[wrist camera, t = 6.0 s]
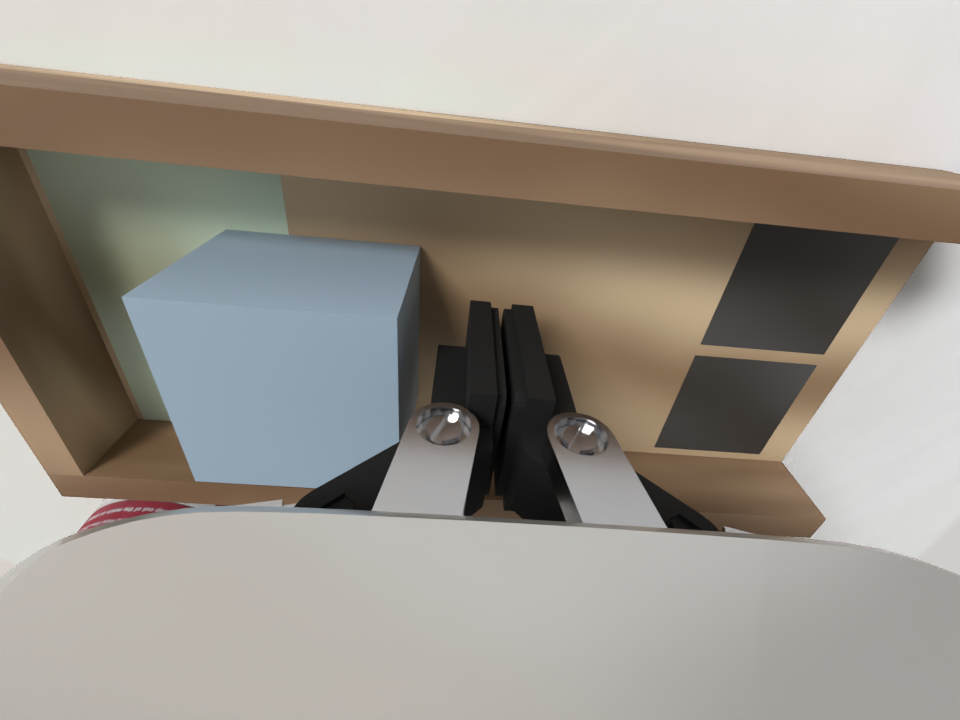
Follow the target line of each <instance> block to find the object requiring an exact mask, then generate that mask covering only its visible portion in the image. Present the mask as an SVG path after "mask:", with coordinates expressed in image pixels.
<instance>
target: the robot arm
mask: <svg viewBox="0 0 960 720" xmlns="http://www.w3.org/2000/svg"><path fill="white" fill-rule="evenodd" d="M493 471H494V489H495V496H503V509H504V511H514V512H515V513H516V514H518V515H519V516H520V517H521V518H522V519H511V518H494V517H477V516H472V515H473V514H474V513H476V512H477V511H478V510H479V509H481V508H482V507H483V503H484V497H485V495H489V492H490V487H491V481H492V476H493ZM0 720H960V575H958V574H956V573H953V572H951V571H948V570H945V569H943V568H940V567H937V566H935V565H932V564H929V563H926V562H924V561H921V560H918V559H915V558H912V557H908V556H904V555H901V554H897V553H893V552H889V551H885V550H882V549H877V548H872V547H866V546H860V545H855V544H849V543H843V542H833V541H823V540H814V539H805V538H795V537H785V536H771V535H758V534H753V533H749V532H745V531H741V530H737V529H733V528H729V527H725V526H724V527H723V529H722V530H721V531H719V530H718V529H717V528H716V526H715V525H714V524H713V523H712V522H710V521H709V520H708V519H706V518H705V517H704V516H703V515H701V514H700V513H698V512H697V511H695V510H694V509H692V508H691V507H689V506H688V505H686V504H685V503H683V502H681V501H680V500H678V499H677V498H675V497H674V496H672V495H671V494H669V493H668V492H666V491H665V490H663V489H662V488H660V487H659V486H657V485H656V484H654V483H653V482H651V481H650V480H648V479H647V478H645V477H644V476H642V475H641V474H639V473H637V472H636V471H634V469H633V467H632V466H631V464H630V462H629V461H628V459H627V457H626V455H625V454H624V452H623V450H622V448H621V447H620V445H619V443H618V441H617V440H616V438H615V436H614V434H613V433H612V432H611V431H610V429H609V428H608V427H607V426H606V425H605V424H603V423H602V422H601V421H599V420H597V419H595V418H593V417H591V416H589V415H585V414H581V413H577V412H576V409H575V405H574V402H573V398H572V395H571V392H570V388H569V385H568V381H567V378H566V375H565V371H564V368H563V364H562V361H561V358H560V356H559V355H552V354H545V352H544V348H543V344H542V340H541V336H540V332H539V328H538V324H537V320H536V315H535V311H534V307H533V306H528V305H517V304H512V306H511V309H504V311H503V316H502V322H501V328H500V319H499V309H498V308H492V307H491V302H486V301H475V300H471V301H470V308H469V317H468V326H467V336H466V345H465V347H461V346H450V345H438V350H437V358H436V366H435V374H434V381H433V389H432V397H431V404H428V405H425V406H423V407H421V408H419V409H418V410H416V411H415V412H414V413H413V415H412V416H411V417H410V419H409V421H408V424H407V426H406V429H405V431H404V433H403V436H402V438H401V441H400V442H398V443H396V444H394V445H392V446H391V447H389V448H387V449H385V450H384V451H382V452H380V453H378V454H376V455H375V456H373V457H371V458H369V459H368V460H366V461H364V462H362V463H360V464H359V465H357V466H355V467H353V468H352V469H350V470H348V471H346V472H344V473H343V474H341V475H339V476H337V477H335V478H334V479H332V480H330V481H328V482H327V483H325V484H323V485H321V486H319V487H318V488H316V489H314V490H312V491H311V492H309V493H308V494H307V495H305V496H304V497H303V498H301V499H300V500H299V501H298V503H297V504H289V505H284V504H283V499H282V500H274V501H266V502H258V503H250V504H242V505H235V506H213V507H196V508H183V509H176V510H170V511H163V512H156V513H149V514H144V515H140V516H136V517H131V518H127V519H123V520H119V521H114V522H110V523H106V524H103V525H100V526H97V527H93V528H90V529H87V530H84V531H81V532H79V533H76V534H74V535H71V536H68V537H66V538H63V539H61V540H59V541H57V542H55V543H53V544H51V545H49V546H47V547H45V548H43V549H41V550H39V551H38V552H36V553H35V554H33V555H32V556H30V557H29V558H27V559H26V560H24V561H23V562H21V563H19V564H18V565H17V566H15V567H14V568H13V569H12V570H10V571H9V572H8V573H6V574H5V575H4V576H3V577H1V578H0Z"/></svg>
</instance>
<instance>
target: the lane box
mask: <svg viewBox="0 0 960 720" xmlns="http://www.w3.org/2000/svg"><path fill="white" fill-rule="evenodd" d="M226 229H228V230H240V231H251V232H263V233H274V234H286V235H298V236H310V237H321V238H333V239H344V240H355V241H367V242H378V243H390V244H401V245H413V246H420V300H419V363H418V397H417V402H416V408H415V411H416V410H418V409H419V408H421V407H423V406H425V405H428V404H431V397H432V389H433V381H434V374H435V366H436V358H437V350H438V345H450V346H461V347H465V345H466V336H467V326H468V317H469V308H470V301H471V300H475V301H486V302H491V307H492V308H498V309H499V319H500V328H501V322H502V316H503V311H504V309H511V306H512V304H517V305H528V306H533V307H534V311H535V315H536V320H537V324H538V328H539V332H540V336H541V340H542V344H543V348H544V352H545V354H552V355H559V356H560V358H561V361H562V364H563V368H564V371H565V375H566V378H567V381H568V385H569V388H570V392H571V395H572V398H573V402H574V405H575V409H576V412H577V413H581V414H585V415H589V416H591V417H593V418H595V419H597V420H599V421H601V422H602V423H603V424H605V425H606V426H607V427H608V428H609V429H610V431H611V432H612V433H613V434H614V436H615V438H616V440H617V441H618V443H619V445H620V447H621V448H622V450H623V452H624V454H625V455H626V457H627V459H628V461H629V462H630V464H631V466H632V467H633V469H634V471H636V472H637V473H639V474H641V475H642V476H644V477H645V478H647V479H648V480H650V481H651V482H653V483H654V484H656V485H657V486H659V487H660V488H662V489H663V490H665V491H666V492H668V493H669V494H671V495H672V496H674V497H675V498H677V499H678V500H680V501H681V502H683V503H685V504H686V505H688V506H689V507H691V508H692V509H694V510H695V511H697V512H698V513H700V514H701V515H703V516H704V517H705V518H706V519H708V520H709V521H710V522H712V523H713V524H714V525H715V526H716V528H717V529H718V530H719V531H721V530H722V529H723V527H724V526H725V527H729V528H733V529H737V530H741V531H745V532H749V533H753V534H758V535H771V536H789V537H807V538H810V537H811V536H812V535H813V534H814V533H815V532H816V530H817V529H818V528H819V527H820V526H821V525H822V523H823V522H824V521H825V520H826V518H825V517H824V516H823V515H822V513H821V512H820V511H819V509H818V508H817V507H816V506H815V504H814V503H813V502H812V500H811V499H810V498H809V496H808V495H807V494H806V493H805V491H804V490H803V489H802V487H801V486H800V485H799V484H798V482H797V481H796V480H795V478H794V477H793V476H792V474H791V473H790V472H789V471H788V469H787V468H786V467H785V465H784V464H783V463H782V460H783V459H784V457H785V456H786V454H787V453H788V451H789V450H790V449H791V447H792V446H793V444H794V443H795V441H796V440H797V439H798V437H799V436H800V434H801V433H802V431H803V430H804V428H805V427H806V426H807V424H808V423H809V421H810V420H811V418H812V417H813V415H814V414H815V413H816V411H817V410H818V408H819V407H820V405H821V404H822V403H823V401H824V400H825V398H826V397H827V395H828V394H829V392H830V391H831V390H832V388H833V387H834V385H835V384H836V382H837V381H838V379H839V378H840V377H841V375H842V374H843V372H844V371H845V369H846V368H847V366H848V365H849V364H850V362H851V361H852V359H853V358H854V356H855V355H856V354H857V352H858V351H859V349H860V348H861V346H862V345H863V343H864V342H865V341H866V339H867V338H868V336H869V335H870V333H871V332H872V330H873V329H874V328H875V326H876V325H877V323H878V322H879V320H880V319H881V317H882V316H883V315H884V313H885V312H886V310H887V309H888V307H889V306H890V305H891V303H892V302H893V300H894V299H895V297H896V296H897V294H898V293H899V292H900V290H901V289H902V287H903V286H904V284H905V283H906V281H907V280H908V279H909V277H910V276H911V274H912V273H913V271H914V270H915V268H916V267H917V266H918V264H919V263H920V261H921V260H922V258H923V257H924V256H925V254H926V253H927V251H928V250H929V248H930V247H931V245H932V244H933V243H934V241H937V242H947V243H957V244H960V174H957V173H952V172H948V171H943V170H936V169H927V168H918V167H909V166H900V165H891V164H883V163H874V162H865V161H856V160H847V159H838V158H829V157H821V156H812V155H803V154H794V153H785V152H776V151H767V150H759V149H750V148H741V147H732V146H723V145H714V144H705V143H696V142H688V141H679V140H670V139H661V138H652V137H643V136H634V135H626V134H617V133H608V132H599V131H590V130H581V129H572V128H564V127H555V126H546V125H537V124H528V123H519V122H510V121H502V120H493V119H484V118H475V117H466V116H457V115H448V114H439V113H431V112H422V111H413V110H404V109H395V108H386V107H377V106H369V105H360V104H351V103H342V102H333V101H324V100H315V99H307V98H298V97H289V96H280V95H271V94H262V93H253V92H245V91H236V90H227V89H218V88H209V87H200V86H191V85H182V84H174V83H165V82H156V81H147V80H138V79H129V78H120V77H112V76H103V75H94V74H85V73H76V72H67V71H58V70H50V69H41V68H32V67H23V66H14V65H5V64H0V403H1V405H2V406H3V408H4V409H5V411H6V412H7V414H8V415H9V417H10V418H11V420H12V421H13V423H14V424H15V426H16V427H17V429H18V430H19V432H20V433H21V435H22V436H23V438H24V439H25V441H26V442H27V444H28V445H29V447H30V448H31V450H32V451H33V453H34V454H35V456H36V457H37V459H38V460H39V462H40V463H41V465H42V466H43V468H44V470H45V471H46V473H47V474H48V476H49V477H50V479H51V480H52V482H53V483H54V485H55V486H56V488H57V489H58V491H59V492H60V494H61V495H62V496H68V497H86V498H104V499H122V500H140V501H158V502H176V503H194V504H212V505H230V506H235V505H242V504H250V503H258V502H266V501H274V500H282V499H283V504H284V505H289V504H297V503H298V501H299V500H300V499H301V498H303V497H304V496H305V495H307V494H308V493H309V492H311V491H312V490H314V489H316V488H305V487H287V486H269V485H252V484H234V483H217V482H199V481H195V479H194V477H193V474H192V472H191V469H190V467H189V464H188V462H187V459H186V457H185V454H184V452H183V449H182V447H181V444H180V442H179V439H178V437H177V434H176V432H175V429H174V427H173V424H172V422H171V419H170V417H169V414H168V412H167V409H166V407H165V404H164V402H163V399H162V397H161V394H160V392H159V389H158V387H157V385H156V382H155V380H154V377H153V375H152V372H151V370H150V367H149V365H148V362H147V360H146V357H145V355H144V352H143V350H142V347H141V345H140V342H139V340H138V337H137V335H136V332H135V330H134V327H133V325H132V322H131V320H130V317H129V315H128V312H127V310H126V307H125V305H124V302H123V300H122V296H123V295H125V294H126V293H128V292H130V291H131V290H133V289H134V288H136V287H137V286H139V285H140V284H142V283H144V282H145V281H147V280H148V279H150V278H151V277H153V276H154V275H156V274H158V273H159V272H161V271H162V270H164V269H165V268H167V267H168V266H170V265H171V264H173V263H175V262H176V261H178V260H179V259H181V258H182V257H184V256H185V255H187V254H189V253H190V252H192V251H193V250H195V249H196V248H198V247H199V246H201V245H203V244H204V243H206V242H207V241H209V240H210V239H212V238H213V237H215V236H217V235H218V234H220V233H221V232H223V231H224V230H226ZM472 516H477V517H494V518H511V519H522V518H521V517H520V516H519V515H518V514H516V513H515V512H514V511H504V509H503V496H495V489H494V471H493V476H492V481H491V487H490V492H489V495H485V497H484V503H483V507H482V508H481V509H479V510H478V511H477V512H476V513H474V514H473V515H472Z"/></svg>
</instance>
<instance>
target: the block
mask: <svg viewBox="0 0 960 720" xmlns="http://www.w3.org/2000/svg"><path fill="white" fill-rule="evenodd" d="M122 300H123V302H124V305H125V307H126V310H127V312H128V315H129V317H130V320H131V322H132V325H133V327H134V330H135V332H136V335H137V337H138V340H139V342H140V345H141V347H142V350H143V352H144V355H145V357H146V360H147V362H148V365H149V367H150V370H151V372H152V375H153V377H154V380H155V382H156V385H157V387H158V389H159V392H160V394H161V397H162V399H163V402H164V404H165V407H166V409H167V412H168V414H169V417H170V419H171V422H172V424H173V427H174V429H175V432H176V434H177V437H178V439H179V442H180V444H181V447H182V449H183V452H184V454H185V457H186V459H187V462H188V464H189V467H190V469H191V472H192V474H193V477H194V479H195V481H199V482H217V483H234V484H252V485H269V486H287V487H305V488H318V487H319V486H321V485H323V484H325V483H327V482H328V481H330V480H332V479H334V478H335V477H337V476H339V475H341V474H343V473H344V472H346V471H348V470H350V469H352V468H353V467H355V466H357V465H359V464H360V463H362V462H364V461H366V460H368V459H369V458H371V457H373V456H375V455H376V454H378V453H380V452H382V451H384V450H385V449H387V448H389V447H391V446H392V445H394V444H396V443H398V442H400V441H401V438H402V436H403V433H404V431H405V429H406V426H407V424H408V421H409V419H410V417H411V416H412V415H413V413H414V412H415V408H416V402H417V397H418V363H419V300H420V246H413V245H401V244H390V243H378V242H367V241H355V240H344V239H333V238H321V237H310V236H298V235H286V234H274V233H263V232H251V231H240V230H228V229H226V230H224V231H223V232H221V233H220V234H218V235H217V236H215V237H213V238H212V239H210V240H209V241H207V242H206V243H204V244H203V245H201V246H199V247H198V248H196V249H195V250H193V251H192V252H190V253H189V254H187V255H185V256H184V257H182V258H181V259H179V260H178V261H176V262H175V263H173V264H171V265H170V266H168V267H167V268H165V269H164V270H162V271H161V272H159V273H158V274H156V275H154V276H153V277H151V278H150V279H148V280H147V281H145V282H144V283H142V284H140V285H139V286H137V287H136V288H134V289H133V290H131V291H130V292H128V293H126V294H125V295H123V296H122Z"/></svg>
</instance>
